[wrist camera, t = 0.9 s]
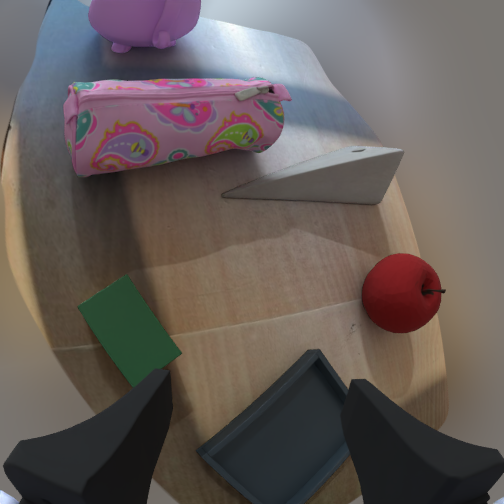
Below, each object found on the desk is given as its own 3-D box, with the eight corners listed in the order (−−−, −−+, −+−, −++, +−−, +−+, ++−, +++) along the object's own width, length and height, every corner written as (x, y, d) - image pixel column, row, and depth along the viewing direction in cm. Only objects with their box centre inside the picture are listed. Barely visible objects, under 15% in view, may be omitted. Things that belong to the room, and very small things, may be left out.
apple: (399, 274, 39) (458, 252, 30) (398, 340, 36) (464, 330, 27) (350, 257, 36) (413, 227, 27) (346, 332, 33) (418, 320, 24)
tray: (271, 517, 23) (280, 525, 21) (195, 450, 23) (201, 457, 21) (361, 423, 30) (373, 424, 28) (308, 349, 30) (319, 348, 28)
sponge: (131, 383, 23) (134, 389, 19) (83, 312, 23) (76, 306, 19) (173, 352, 25) (182, 353, 21) (125, 284, 25) (127, 273, 21)
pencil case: (242, 108, 36) (275, 57, 29) (268, 167, 35) (311, 120, 27) (66, 125, 26) (62, 60, 18) (72, 199, 25) (62, 140, 17)
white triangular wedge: (261, 279, 30) (409, 208, 37) (241, 198, 27) (404, 148, 34) (223, 250, 38) (357, 196, 46) (206, 187, 35) (350, 145, 42)
